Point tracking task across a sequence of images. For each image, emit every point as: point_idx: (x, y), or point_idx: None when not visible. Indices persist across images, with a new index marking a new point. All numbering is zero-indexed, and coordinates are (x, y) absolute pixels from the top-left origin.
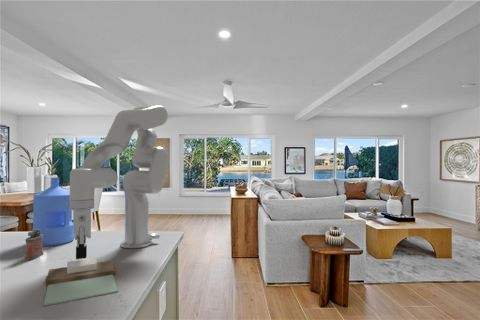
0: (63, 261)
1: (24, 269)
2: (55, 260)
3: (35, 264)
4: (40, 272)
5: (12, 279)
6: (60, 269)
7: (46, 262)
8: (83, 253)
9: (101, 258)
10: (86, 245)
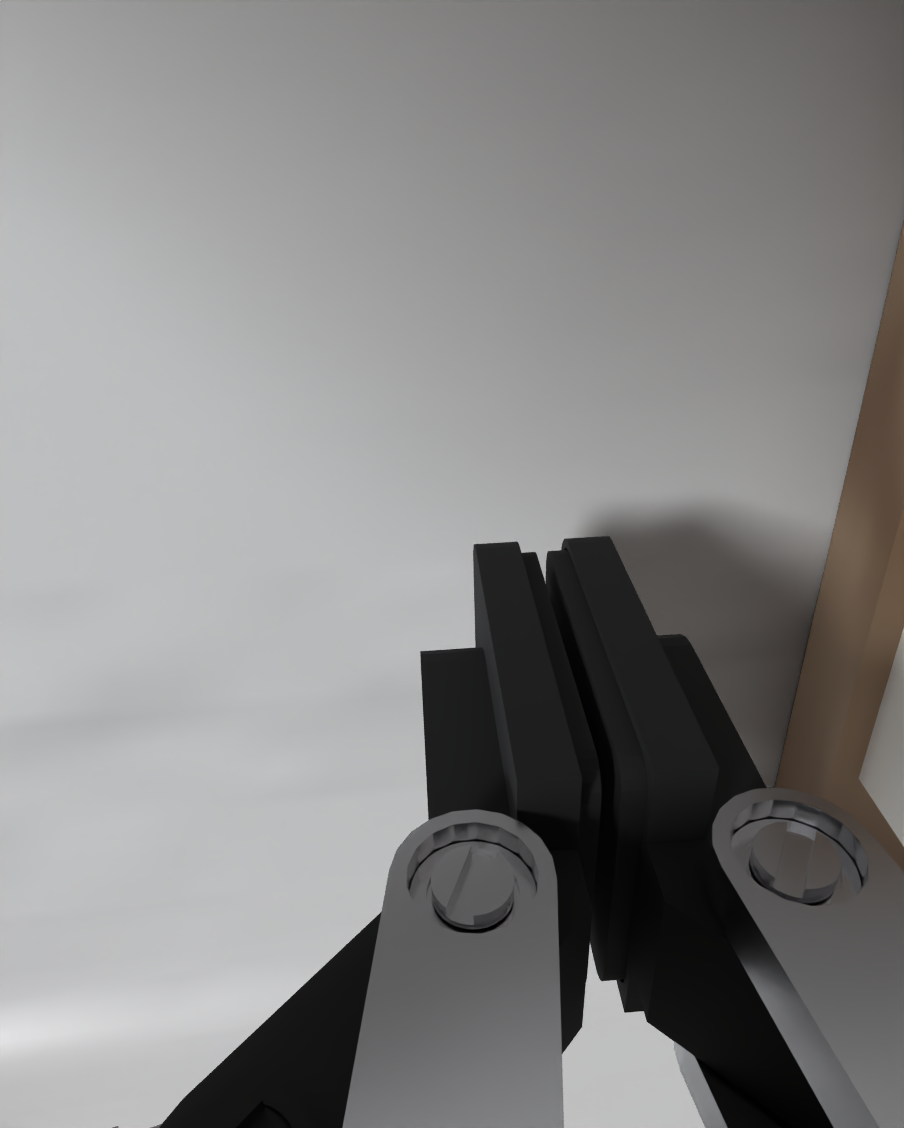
0: (149, 824)
1: None
2: (53, 922)
3: (195, 1069)
4: (593, 979)
5: (684, 1118)
6: (892, 849)
7: (135, 995)
8: (709, 684)
9: (129, 48)
10: (559, 782)
